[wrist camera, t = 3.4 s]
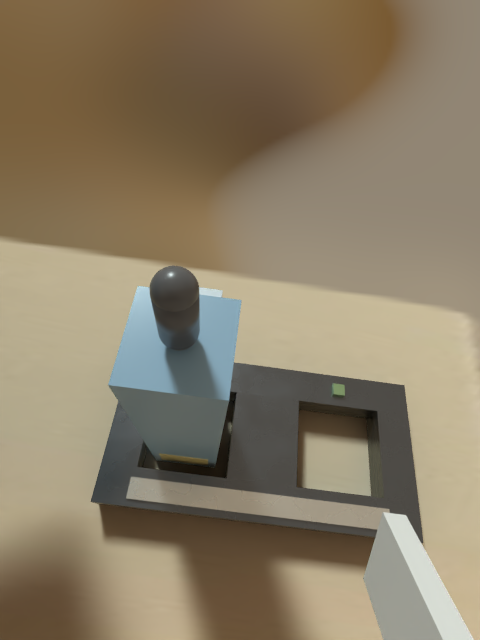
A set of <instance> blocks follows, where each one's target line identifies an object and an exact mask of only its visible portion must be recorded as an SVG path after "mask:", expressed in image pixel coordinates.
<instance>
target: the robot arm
mask: <svg viewBox="0 0 480 640" xmlns="http://www.w3.org/2000/svg"><path fill="white" fill-rule="evenodd" d="M363 579H364V582H365V585H366V588H367V591H368V594H369V597H370V600H371V603H372V606H373V609H374V612H375V615H376V618H377V621H378V624H379V628H380V631H381V634H382V637H383V640H474V639H473V637H472V636H471V634H470V632H469V630H468V628H467V626H466V625H465V623H464V621H463V619H462V617H461V615H460V614H459V612H458V610H457V608H456V606H455V604H454V603H453V601H452V599H451V597H450V595H449V593H448V591H447V590H446V588H445V586H444V584H443V582H442V580H441V579H440V577H439V575H438V573H437V571H436V569H435V568H434V566H433V564H432V562H431V560H430V558H429V557H428V555H427V553H426V551H425V549H424V547H423V546H422V544H421V542H420V540H419V538H418V536H417V535H416V533H415V531H414V529H413V527H412V525H411V524H410V522H409V520H408V518H407V516H406V515H401V514H394V513H386V512H383V513H382V517H381V520H380V523H379V527H378V530H377V534H376V537H375V540H374V544H373V547H372V551H371V554H370V557H369V561H368V564H367V568H366V571H365V574H364V578H363Z"/></svg>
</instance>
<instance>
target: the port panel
mask: <svg viewBox="0 0 480 640" xmlns="http://www.w3.org/2000/svg"><path fill="white" fill-rule="evenodd" d="M229 400H231V401H234V409H233V418H232V427H231V435H230V444H229V452H228V461H227V469H226V478H220V477H212V476H204V475H197V474H189V473H181V472H173V471H165V470H157V469H149V468H143V463H144V459H145V454H146V450H147V445H146V444H145V442H144V440H143V439H142V437H141V436H140V434H139V433H138V431H137V429H136V428H135V426H134V425H133V423H132V422H131V420H130V418H129V417H128V415H127V414H126V412H125V410H124V409H123V407H122V406H121V404H120V403H119V401H118V405H117V409H116V412H115V416H114V419H113V423H112V427H111V430H110V434H109V438H108V441H107V445H106V448H105V452H104V456H103V459H102V463H101V466H100V470H99V474H98V477H97V481H96V485H95V488H94V492H93V495H92V499H91V502H93V503H97V504H103V505H111V506H119V507H127V508H135V509H143V510H151V511H160V512H168V513H176V514H184V515H192V516H200V517H208V518H216V519H224V520H232V521H240V522H248V523H257V524H265V525H273V526H281V527H289V528H297V529H305V530H313V531H321V532H329V533H337V534H345V535H354V536H362V537H370V538H375V537H376V534H377V530H378V527H379V523H380V520H381V517H382V513H383V512H386V513H394V514H401V515H406V516H407V518H408V520H409V522H410V524H411V525H412V527H413V529H414V531H415V533H416V535H417V536H418V538H419V540H420V542H421V543H423V536H422V528H421V520H420V512H419V503H418V495H417V487H416V478H415V470H414V462H413V454H412V445H411V437H410V429H409V421H408V412H407V404H406V396H405V388H404V385H397V384H390V383H382V382H375V381H367V380H360V379H353V378H345V377H338V376H330V375H323V374H315V373H308V372H300V371H293V370H286V369H278V368H271V367H263V366H256V365H248V364H241V363H234V364H233V372H232V380H231V388H230V396H229ZM299 410H306V411H314V412H322V413H329V414H337V415H344V416H352V417H359V418H366V420H367V436H368V451H369V467H370V483H371V497H370V496H363V495H355V494H347V493H339V492H331V491H323V490H315V489H307V488H299V487H297V451H298V414H299Z"/></svg>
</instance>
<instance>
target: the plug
mask: <svg viewBox="0 0 480 640" xmlns="http://www.w3.org/2000/svg"><path fill="white" fill-rule="evenodd" d="M222 292H223V290H215V289H208V288H201V287H199V285H198V282H197V279H196V278H195V276H194V275H193V274H192V273H191V272H190V271H189V270H187V269H186V268H183V267H180V266H168V267H165V268H163V269H161V270H160V271H158V272H157V273H156V274H155V275H154V277H153V278H152V281H151V283H150V287H142V286H138V287H137V290H136V294H135V297H134V300H133V304H132V307H131V310H130V314H129V317H128V320H127V324H126V327H125V331H124V334H123V337H122V341H121V344H120V347H119V351H118V354H117V357H116V361H115V364H114V367H113V371H112V374H111V378H110V381H109V384H108V385H109V387H110V388H111V390H112V392H113V393H114V395H115V396H116V398H117V399H118V401H119V403H120V404H121V406H122V407H123V409H124V410H125V412H126V414H127V415H128V417H129V418H130V420H131V422H132V423H133V425H134V426H135V428H136V429H137V431H138V433H139V434H140V436H141V437H142V439H143V440H144V442H145V444H146V445H147V447H148V448H149V450H150V451H151V453H152V455H153V456H154V458H155V459H156V461H164V462H172V463H180V464H188V465H196V466H204V467H212V468H215V465H216V460H217V455H218V450H219V446H220V441H221V436H222V431H223V427H224V422H225V417H226V412H227V408H228V403H229V396H230V388H231V380H232V372H233V364H234V356H235V348H236V340H237V332H238V324H239V316H240V308H241V300H236V299H229V298H222Z"/></svg>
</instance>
